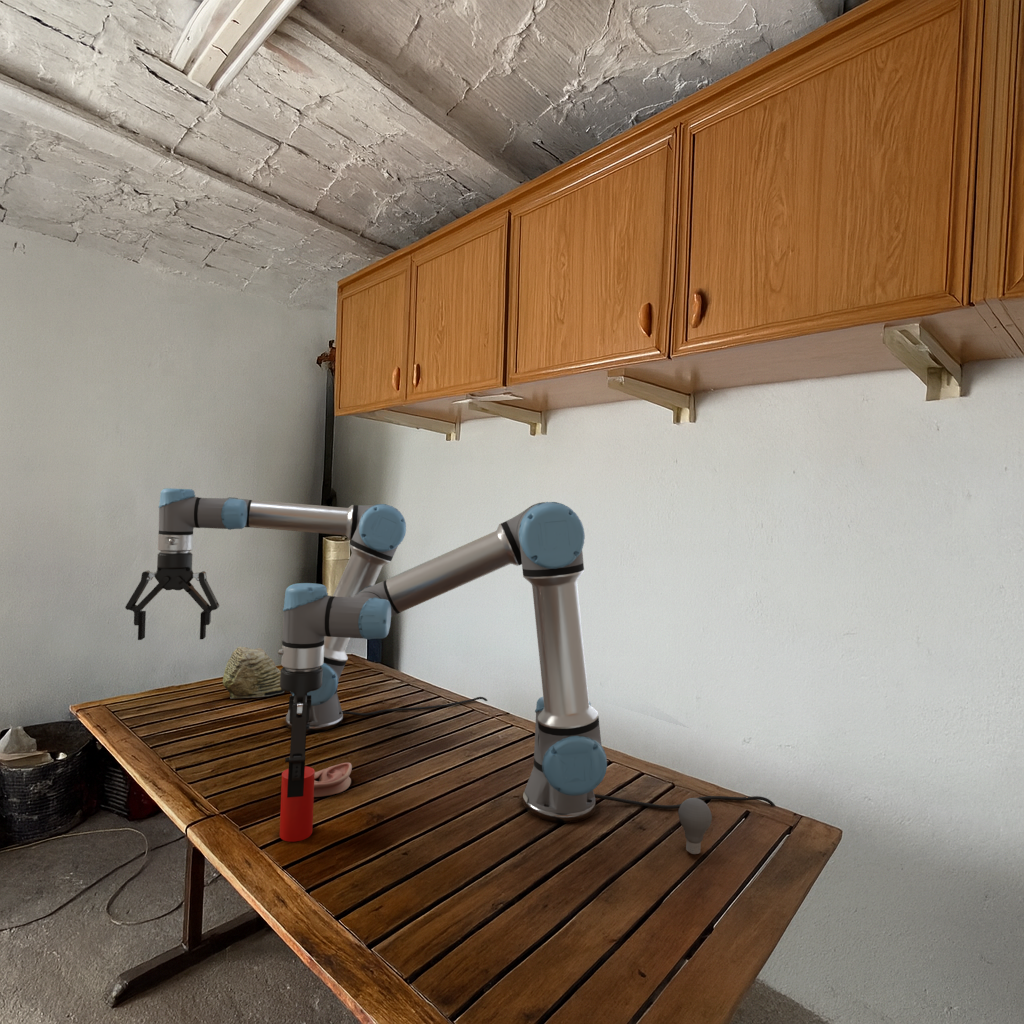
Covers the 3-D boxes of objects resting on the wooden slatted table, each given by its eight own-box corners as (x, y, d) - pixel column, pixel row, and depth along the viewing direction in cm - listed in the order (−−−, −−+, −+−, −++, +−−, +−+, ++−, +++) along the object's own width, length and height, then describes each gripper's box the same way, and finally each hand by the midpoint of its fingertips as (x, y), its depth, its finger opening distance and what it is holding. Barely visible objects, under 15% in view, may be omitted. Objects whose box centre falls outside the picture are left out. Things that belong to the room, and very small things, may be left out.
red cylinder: (276, 830, 120) (278, 769, 120) (307, 822, 123) (309, 763, 123) (283, 845, 115) (286, 781, 115) (316, 836, 118) (318, 775, 118)
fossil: (218, 695, 195) (220, 647, 195) (278, 685, 208) (279, 640, 207) (228, 703, 189) (230, 653, 188) (289, 692, 201) (290, 645, 201)
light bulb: (672, 843, 121) (674, 791, 121) (702, 843, 121) (705, 792, 121) (683, 861, 115) (685, 807, 115) (715, 861, 115) (717, 807, 115)
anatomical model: (276, 775, 134) (304, 754, 145) (275, 793, 134) (304, 771, 145) (334, 783, 131) (358, 761, 142) (333, 802, 131) (357, 779, 142)
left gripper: (112, 551, 147) (109, 642, 148) (227, 554, 154) (224, 641, 154) (123, 549, 155) (120, 635, 155) (233, 551, 161) (230, 634, 161)
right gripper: (284, 650, 129) (278, 754, 130) (276, 687, 105) (270, 813, 106) (322, 650, 131) (317, 751, 132) (323, 685, 108) (317, 809, 108)
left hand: (172, 638), depth 155 cm, fingers open, 13 cm apart
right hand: (296, 779), depth 119 cm, fingers open, 13 cm apart
